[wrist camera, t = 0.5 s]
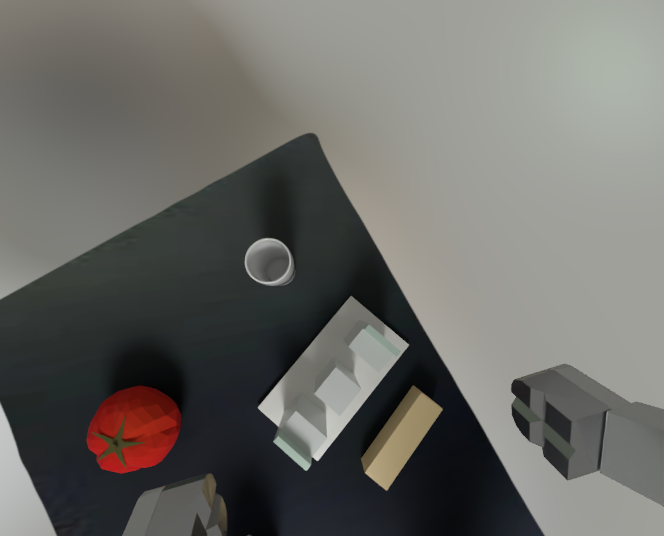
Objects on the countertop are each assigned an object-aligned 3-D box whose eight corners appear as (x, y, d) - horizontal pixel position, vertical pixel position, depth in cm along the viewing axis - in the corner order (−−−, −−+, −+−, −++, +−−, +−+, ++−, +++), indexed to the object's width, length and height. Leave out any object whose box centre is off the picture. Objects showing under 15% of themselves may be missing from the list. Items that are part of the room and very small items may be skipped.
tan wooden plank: (432, 399, 57) (442, 409, 52) (380, 473, 55) (386, 490, 50) (412, 384, 57) (421, 392, 52) (360, 457, 55) (364, 472, 50)
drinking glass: (298, 253, 59) (291, 236, 44) (299, 288, 58) (292, 283, 43) (263, 254, 58) (243, 237, 44) (263, 290, 58) (243, 285, 43)
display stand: (407, 344, 57) (432, 355, 44) (317, 458, 54) (316, 506, 42) (350, 295, 58) (359, 293, 45) (258, 406, 55) (239, 437, 42)
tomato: (104, 435, 54) (51, 467, 43) (136, 368, 55) (93, 383, 45) (173, 465, 54) (137, 504, 43) (204, 396, 55) (176, 418, 45)
